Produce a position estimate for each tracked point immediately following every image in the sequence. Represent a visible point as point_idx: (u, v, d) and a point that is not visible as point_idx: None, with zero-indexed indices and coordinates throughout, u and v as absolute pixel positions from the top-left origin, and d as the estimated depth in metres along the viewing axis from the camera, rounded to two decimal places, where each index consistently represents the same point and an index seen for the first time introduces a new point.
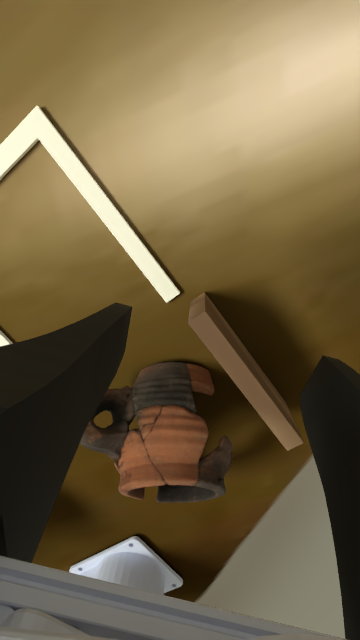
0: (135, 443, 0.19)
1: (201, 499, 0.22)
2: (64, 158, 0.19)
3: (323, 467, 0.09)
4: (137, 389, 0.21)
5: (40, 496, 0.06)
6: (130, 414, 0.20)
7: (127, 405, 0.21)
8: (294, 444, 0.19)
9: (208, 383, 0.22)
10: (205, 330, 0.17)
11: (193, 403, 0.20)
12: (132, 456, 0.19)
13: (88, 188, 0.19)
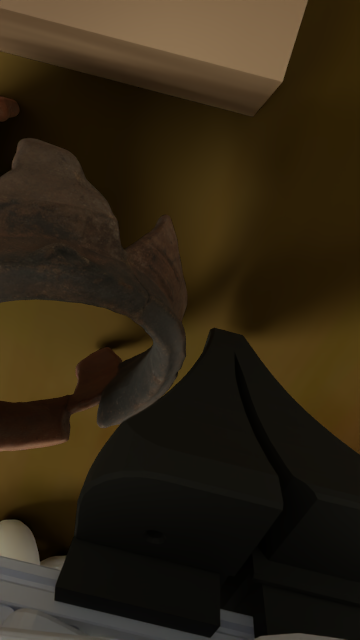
0: None
1: (162, 366, 0.08)
2: None
3: None
4: None
5: None
6: None
7: None
8: (285, 26, 0.04)
9: None
10: None
11: None
12: None
13: None
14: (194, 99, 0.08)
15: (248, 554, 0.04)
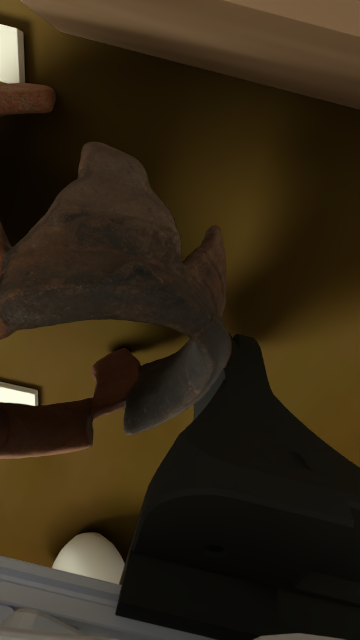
0: None
1: (202, 379, 0.08)
2: None
3: None
4: None
5: None
6: None
7: None
8: None
9: None
10: None
11: None
12: None
13: None
14: None
15: (309, 569, 0.04)
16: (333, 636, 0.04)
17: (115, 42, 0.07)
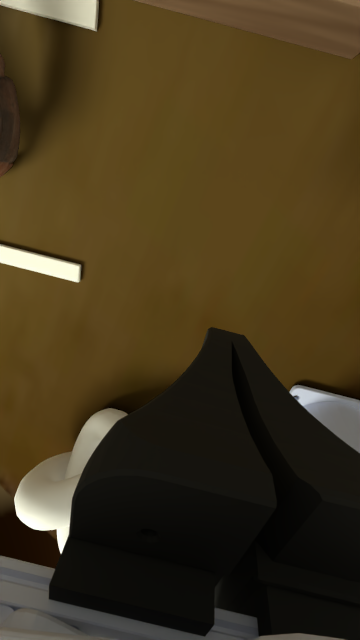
0: None
1: None
2: None
3: None
4: None
5: None
6: None
7: None
8: None
9: None
10: None
11: None
12: None
13: None
14: (317, 46, 0.13)
15: (242, 552, 0.04)
16: None
17: (153, 1, 0.13)
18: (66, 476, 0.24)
